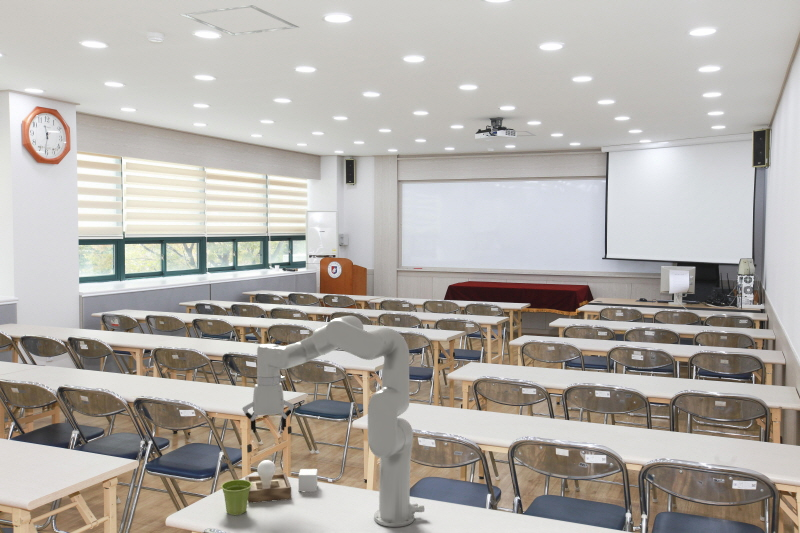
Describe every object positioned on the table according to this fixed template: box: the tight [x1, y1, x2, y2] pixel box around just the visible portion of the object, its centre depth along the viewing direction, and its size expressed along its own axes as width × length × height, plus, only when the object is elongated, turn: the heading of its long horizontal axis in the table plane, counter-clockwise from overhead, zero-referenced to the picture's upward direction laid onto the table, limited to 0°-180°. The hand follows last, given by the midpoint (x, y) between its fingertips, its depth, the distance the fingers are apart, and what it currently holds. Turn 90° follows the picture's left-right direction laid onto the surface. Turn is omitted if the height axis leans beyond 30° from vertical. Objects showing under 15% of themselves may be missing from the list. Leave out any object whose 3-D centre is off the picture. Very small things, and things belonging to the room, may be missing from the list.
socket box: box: [244, 472, 292, 504], centre depth 231 cm, size 14×14×4 cm
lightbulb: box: [256, 459, 277, 489], centre depth 231 cm, size 6×6×11 cm
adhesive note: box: [298, 468, 318, 493], centre depth 236 cm, size 6×6×6 cm
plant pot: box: [220, 479, 252, 516], centre depth 216 cm, size 9×9×9 cm
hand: (268, 430), depth 230 cm, fingers open, 9 cm apart
